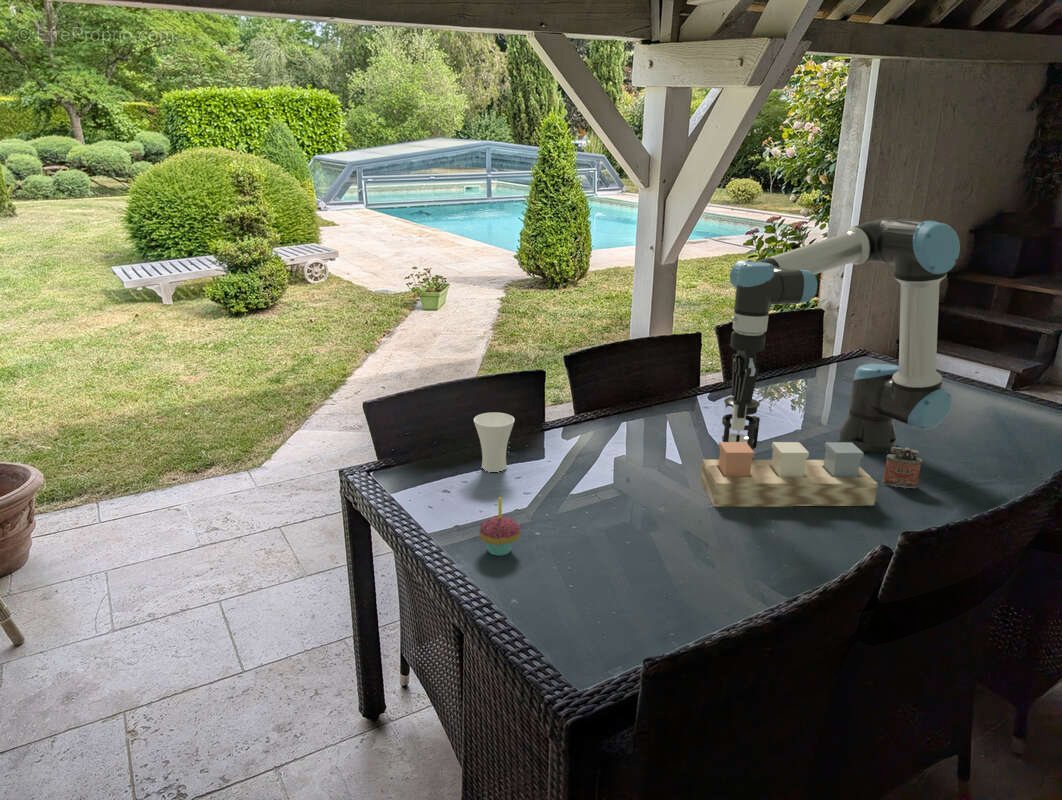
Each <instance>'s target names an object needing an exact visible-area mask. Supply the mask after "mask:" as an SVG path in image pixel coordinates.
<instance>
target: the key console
mask: <svg viewBox="0 0 1062 800" xmlns="http://www.w3.org/2000/svg"><path fill="white" fill-rule="evenodd" d="M771 462H772V459H753V460H752V463H751V471H750V477H724V475H723V473H722V472H721V470H720V469H719V467H718V464H719V460H718V459H702V460H701V469H700V471H701V472H700V479H699V480H700V481H699V482H700V484H701V485H702V487H703V489H704V491H705V493H706V494H707V496H708V498H709V500H710V501H711V503H712V505H713V507H715V508H717V507H718V508H719V507H720V508H721V507H724V508H726V507H730V508H733V507H734V508H736V507H737V508H739V507H740V508H741V507H743V508H745V507H746V508H749V507H750V508H751V507H752V508H753V507H754V508H755V507H756V508H757V507H758V508H760V507H762V508H763V507H767V508H771V507H772V508H774V507H775V508H776V507H777V508H780V507H781V508H784V507H785V508H789V507H791V508H794V507H793V506H860V505H874V506H875V503H876V497H877V490H878V486H879V485H878V484H879V483H878V482H877V481H876V480H874V479H873V477H871V475H869V474H868V473H867V472H866V471H865V470H864V469H863V468H862V467H861V466H860V467H859V473H858V477H832V476H831V475H830V474H829V473H828V471H827V470H826V469H825V468H824V467H823V465H824V459H806V466H805V473H804V477H779V476H778V475H777V474H776V473H775V471H774V470H773V469H772V468H771Z"/></svg>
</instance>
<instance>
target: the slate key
mask: <svg viewBox="0 0 1062 800" xmlns="http://www.w3.org/2000/svg"><path fill="white" fill-rule="evenodd" d="M824 448H825V453H824V459H823V460H824V465H823V467H824V468H825V469H826V470H827V471H828V473H829V474H830V475H831V476H832V477H858V473H859V467H861V461H862V460H861V459H862V458H864V453H865V452H863V451H861V450H860V449H859V448H858V447H856V446H855V445H854V444H853V443H852V442H839V441H838V442H834V441H833V442H829V441H828V442H827V441H825V443H824Z"/></svg>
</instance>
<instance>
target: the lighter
mask: <svg viewBox="0 0 1062 800" xmlns="http://www.w3.org/2000/svg"><path fill="white" fill-rule="evenodd" d="M891 453H892V454H891ZM918 456H919V450H915V449H911V448H910V447H904V448H903V447H897V446H895V447H892V448H891V451H890V453H889V454H887V455H886V463H885V468H884V475H883V478H882V481H881V482H883V483H885V484H889V485H896V486H906V487H916V486H917V487H918V480H919V476H920V471H921V465H922V464H923V459H922V458H920V457H918Z"/></svg>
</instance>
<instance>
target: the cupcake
mask: <svg viewBox="0 0 1062 800" xmlns="http://www.w3.org/2000/svg"><path fill="white" fill-rule="evenodd" d="M498 495H499V497H498V499H497V500H498V505H497V507H498V515H497V516H493V517H489V518H488V519H487V520H485V521H483V523H481V525H480V527H479V538H480V539H481V540H482V541H483V542H484V543H485V546H486V548H487V552H488V553H489V554H491V555H493V556H499V557H501V556H506V555H508V554H509V553H511V551H512V548H513V544H514V543H515V542H516V541H517V540H518V539H519V538H520V536H521V533H522V531H521V529H522V528H521V526H520V525H519V524H518V522H517V521H515V519H513V518H511V517H508V516H503V515H502V514H503V513H502V509H503V507H502V503H503V501H502V496H501V493H499V494H498Z"/></svg>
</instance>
